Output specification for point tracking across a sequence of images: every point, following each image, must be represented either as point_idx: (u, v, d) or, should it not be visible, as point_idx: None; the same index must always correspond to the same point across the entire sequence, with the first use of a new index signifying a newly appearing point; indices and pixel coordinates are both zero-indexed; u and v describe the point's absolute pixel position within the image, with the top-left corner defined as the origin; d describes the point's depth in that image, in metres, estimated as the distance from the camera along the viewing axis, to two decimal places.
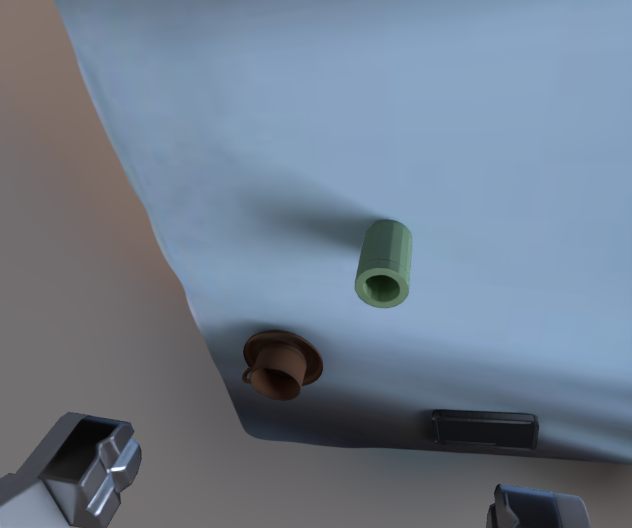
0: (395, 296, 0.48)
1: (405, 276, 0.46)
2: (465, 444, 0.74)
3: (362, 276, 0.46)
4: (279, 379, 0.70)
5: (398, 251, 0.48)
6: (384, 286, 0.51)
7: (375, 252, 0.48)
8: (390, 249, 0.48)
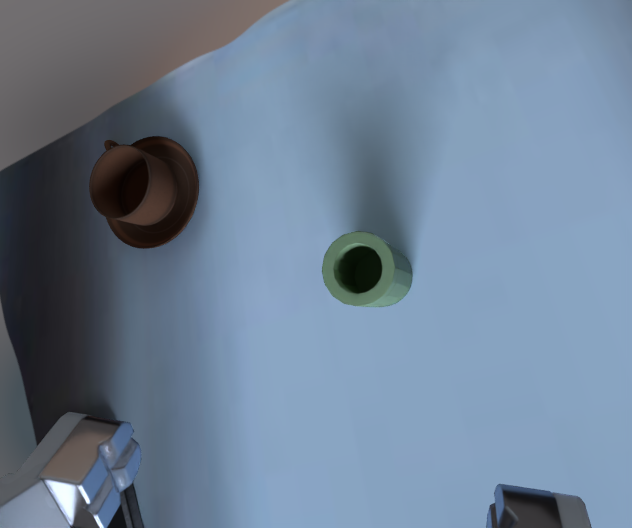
0: (348, 291, 0.34)
1: (385, 294, 0.33)
2: None
3: (370, 237, 0.34)
4: (115, 193, 0.50)
5: (401, 281, 0.36)
6: (339, 279, 0.37)
7: (395, 251, 0.36)
8: (402, 270, 0.36)
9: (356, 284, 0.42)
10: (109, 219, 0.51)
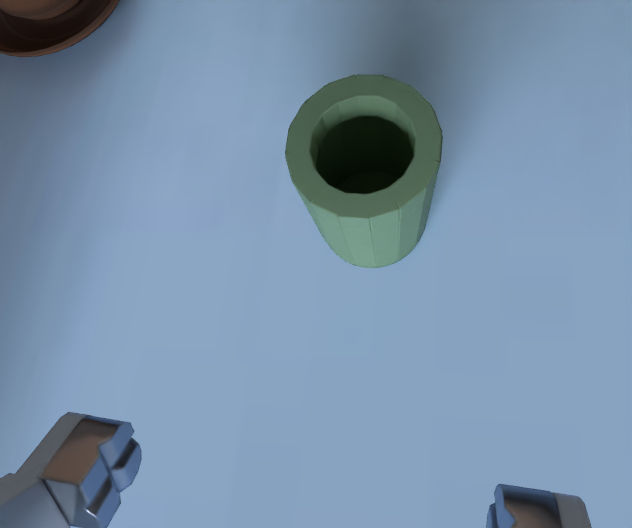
0: (327, 186, 0.16)
1: (399, 212, 0.16)
2: None
3: (407, 94, 0.16)
4: None
5: (422, 214, 0.19)
6: None
7: None
8: (431, 194, 0.19)
9: None
10: None
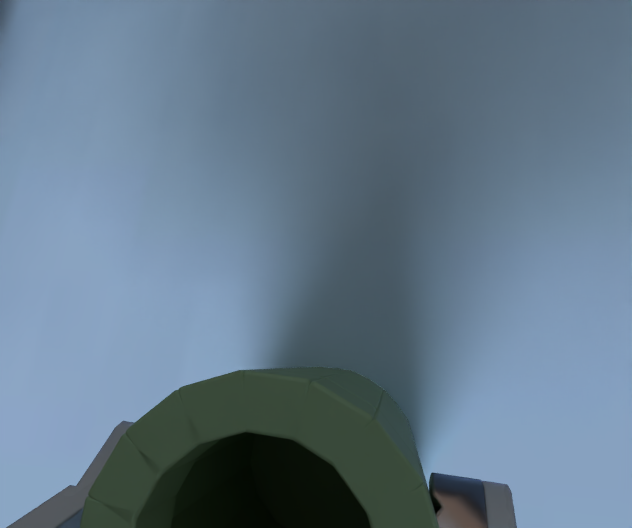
0: None
1: None
2: None
3: (362, 441, 0.07)
4: None
5: None
6: (182, 496, 0.10)
7: None
8: None
9: (252, 457, 0.14)
10: None
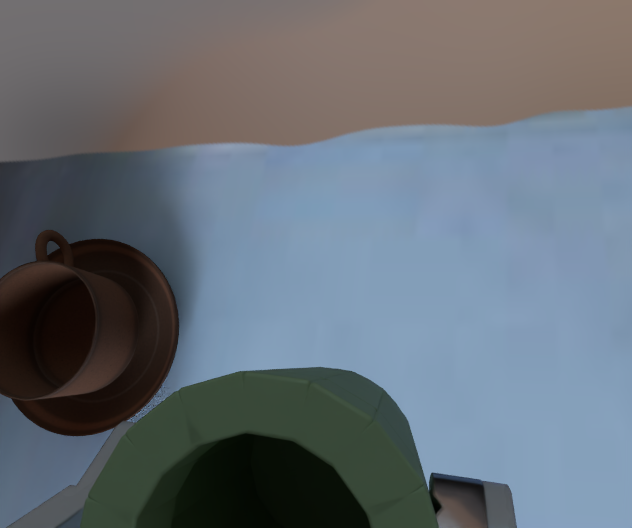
0: None
1: None
2: None
3: (362, 442, 0.07)
4: (28, 314, 0.29)
5: None
6: (183, 497, 0.10)
7: (426, 485, 0.09)
8: None
9: (252, 458, 0.14)
10: None
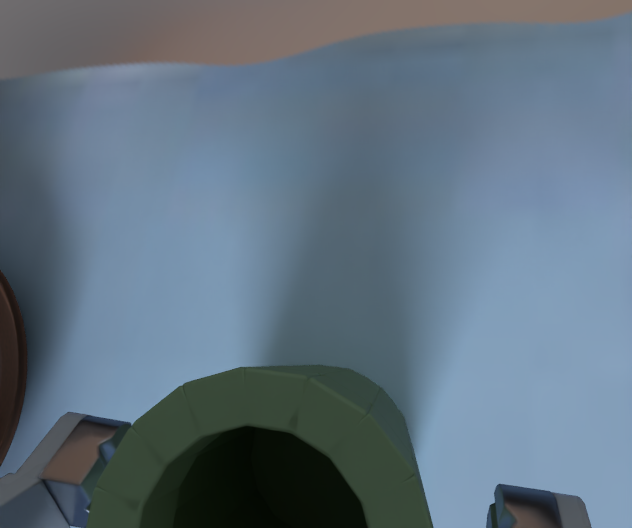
0: None
1: None
2: None
3: (357, 434, 0.07)
4: None
5: None
6: (185, 489, 0.10)
7: (419, 477, 0.09)
8: None
9: (252, 453, 0.15)
10: None
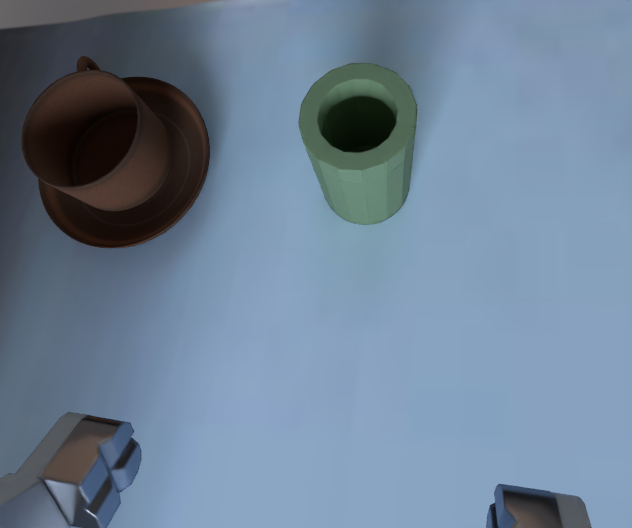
0: (330, 147, 0.22)
1: (385, 166, 0.21)
2: None
3: (391, 77, 0.22)
4: (67, 141, 0.31)
5: (404, 173, 0.24)
6: None
7: None
8: (411, 157, 0.24)
9: None
10: None
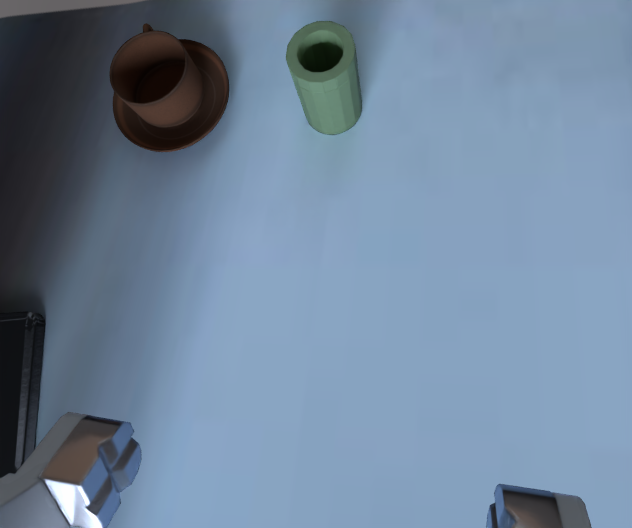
0: (304, 70, 0.36)
1: (336, 80, 0.36)
2: None
3: (340, 29, 0.36)
4: (133, 81, 0.46)
5: (352, 91, 0.39)
6: None
7: None
8: (356, 81, 0.39)
9: None
10: (115, 106, 0.46)
